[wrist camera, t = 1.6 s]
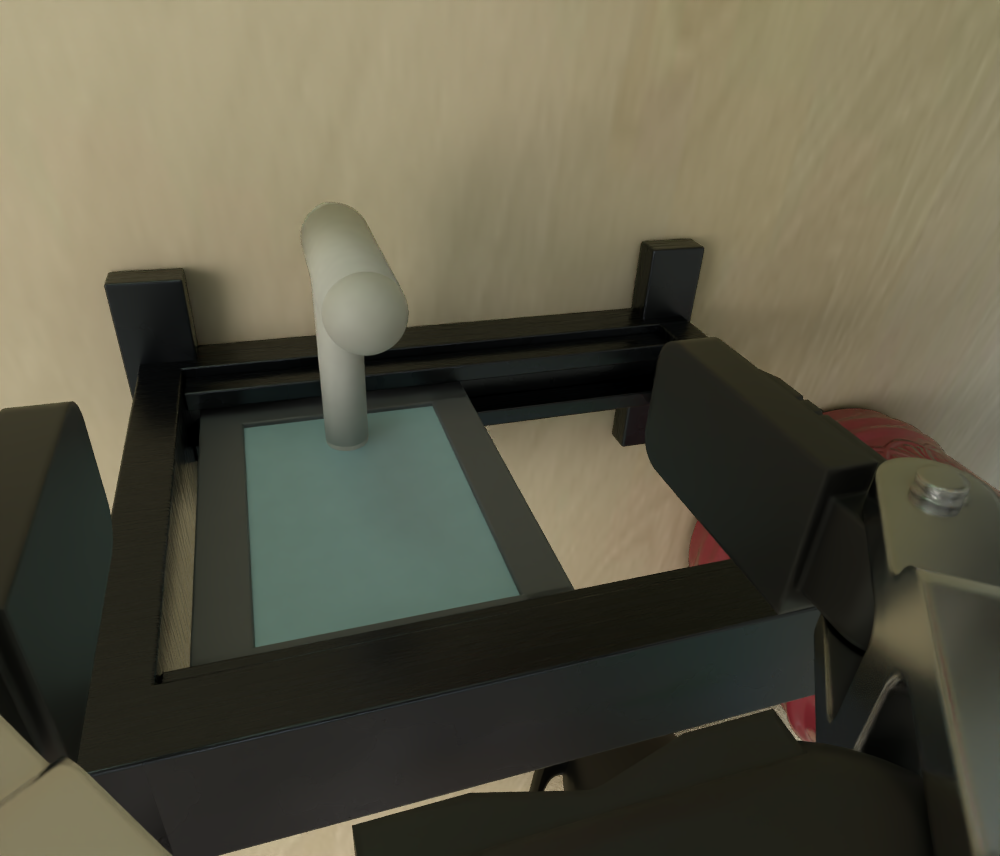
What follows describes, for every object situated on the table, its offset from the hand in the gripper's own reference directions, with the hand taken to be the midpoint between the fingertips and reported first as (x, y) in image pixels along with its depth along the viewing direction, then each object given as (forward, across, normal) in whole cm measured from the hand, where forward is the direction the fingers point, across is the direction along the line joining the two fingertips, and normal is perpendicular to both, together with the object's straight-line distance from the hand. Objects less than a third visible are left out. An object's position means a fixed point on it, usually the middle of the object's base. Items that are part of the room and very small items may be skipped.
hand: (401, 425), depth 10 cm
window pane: (+12, 0, +3) cm, 12 cm away
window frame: (+14, -4, +6) cm, 15 cm away
